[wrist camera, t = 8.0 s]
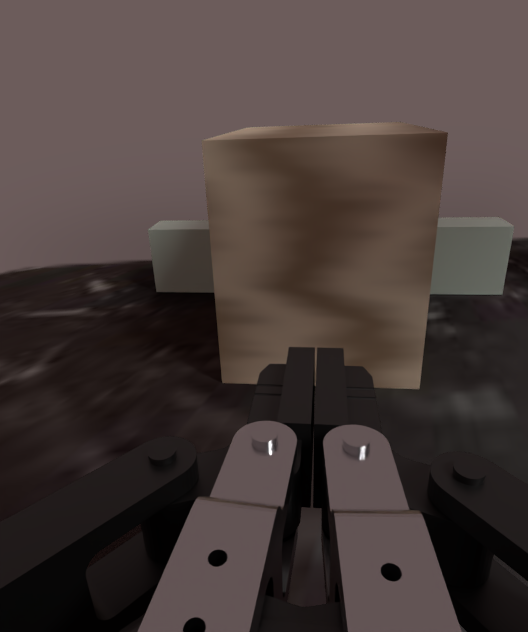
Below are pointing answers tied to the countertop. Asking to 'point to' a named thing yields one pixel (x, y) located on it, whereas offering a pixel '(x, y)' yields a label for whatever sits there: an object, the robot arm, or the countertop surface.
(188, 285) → the sage board
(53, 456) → the countertop surface
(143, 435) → the countertop surface
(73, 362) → the countertop surface
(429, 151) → the birch block
